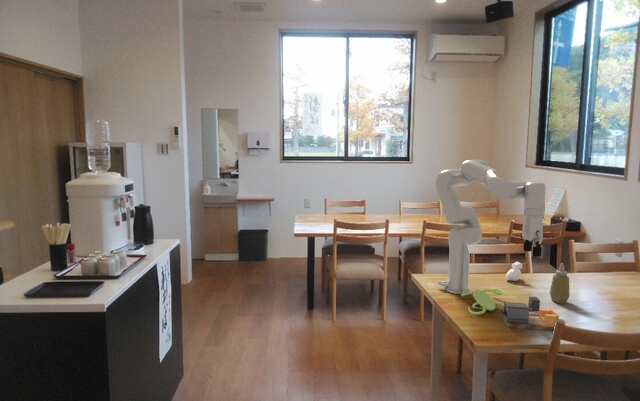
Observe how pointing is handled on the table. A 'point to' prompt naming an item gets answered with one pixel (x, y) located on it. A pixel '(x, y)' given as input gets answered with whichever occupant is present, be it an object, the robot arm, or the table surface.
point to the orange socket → (548, 317)
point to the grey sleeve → (516, 313)
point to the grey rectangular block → (533, 306)
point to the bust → (514, 272)
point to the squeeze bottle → (560, 286)
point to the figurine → (483, 300)
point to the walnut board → (529, 325)
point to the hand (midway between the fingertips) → (531, 253)
